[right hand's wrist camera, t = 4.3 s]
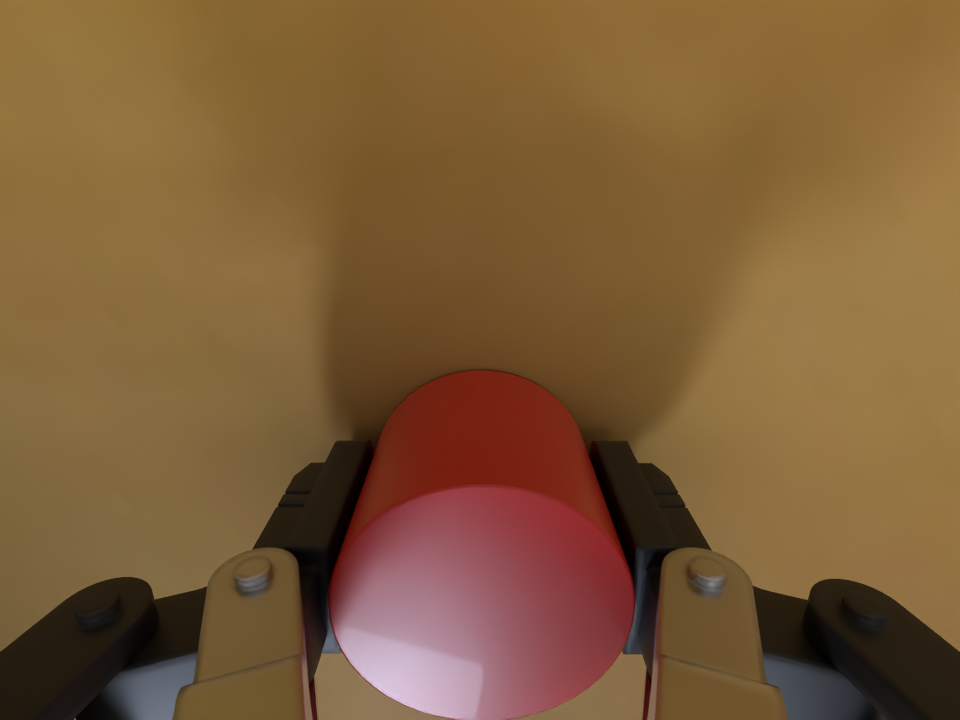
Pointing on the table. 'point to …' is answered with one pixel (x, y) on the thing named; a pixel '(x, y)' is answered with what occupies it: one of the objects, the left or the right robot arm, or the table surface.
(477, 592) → the red solid cylinder
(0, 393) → the table surface
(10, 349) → the table surface
